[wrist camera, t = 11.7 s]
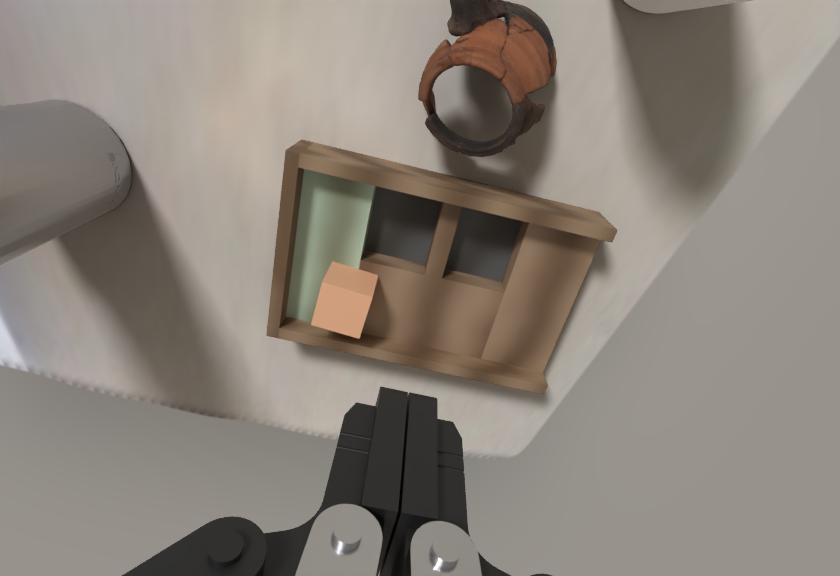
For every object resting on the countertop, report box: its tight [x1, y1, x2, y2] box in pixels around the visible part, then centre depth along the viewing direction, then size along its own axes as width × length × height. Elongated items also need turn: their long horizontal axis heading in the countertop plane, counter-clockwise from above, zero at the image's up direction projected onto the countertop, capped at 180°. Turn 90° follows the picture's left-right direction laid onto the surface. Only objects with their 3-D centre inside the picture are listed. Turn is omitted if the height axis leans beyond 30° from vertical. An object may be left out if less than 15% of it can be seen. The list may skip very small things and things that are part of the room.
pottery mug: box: [419, 0, 557, 157], centre depth 32 cm, size 12×9×8 cm
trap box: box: [267, 140, 618, 394], centre depth 40 cm, size 25×16×4 cm, turn 77°
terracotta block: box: [311, 261, 378, 339], centre depth 39 cm, size 4×4×4 cm
